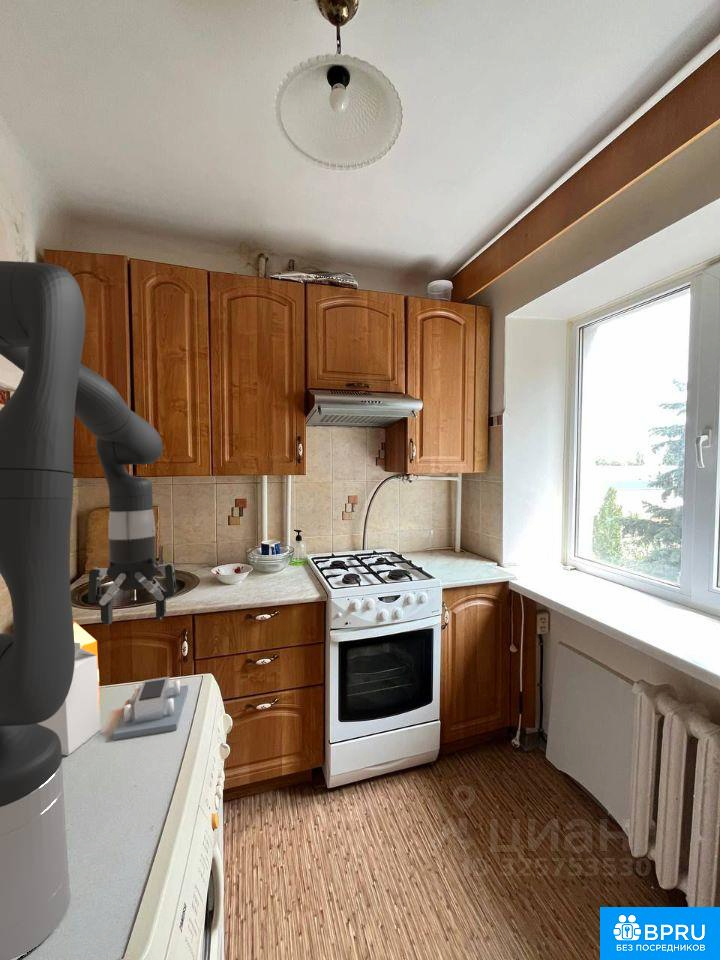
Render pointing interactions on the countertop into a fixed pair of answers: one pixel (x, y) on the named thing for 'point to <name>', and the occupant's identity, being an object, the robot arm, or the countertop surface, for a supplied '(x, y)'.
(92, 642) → the orange juice
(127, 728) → the grey plate with pegs
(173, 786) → the countertop surface
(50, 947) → the countertop surface
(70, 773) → the countertop surface
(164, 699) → the block
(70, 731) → the milk carton
